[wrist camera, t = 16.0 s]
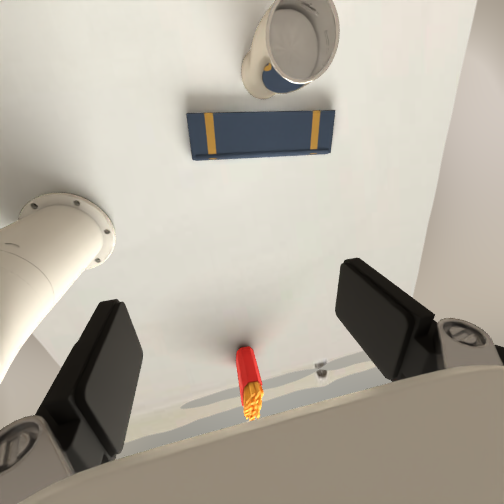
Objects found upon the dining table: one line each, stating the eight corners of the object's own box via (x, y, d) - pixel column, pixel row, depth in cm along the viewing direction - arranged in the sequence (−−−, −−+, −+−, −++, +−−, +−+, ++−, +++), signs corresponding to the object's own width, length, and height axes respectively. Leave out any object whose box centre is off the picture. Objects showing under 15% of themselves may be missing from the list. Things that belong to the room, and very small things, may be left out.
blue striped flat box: (192, 160, 36) (192, 161, 35) (186, 113, 34) (186, 113, 33) (327, 153, 40) (330, 154, 39) (332, 110, 37) (335, 109, 36)
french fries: (252, 368, 60) (264, 423, 49) (235, 370, 59) (243, 427, 48) (254, 341, 56) (268, 394, 45) (236, 343, 55) (245, 398, 44)
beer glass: (238, 38, 31) (266, -31, 18) (289, 44, 32) (350, -15, 19) (237, 101, 34) (260, 82, 21) (283, 104, 35) (333, 89, 22)
